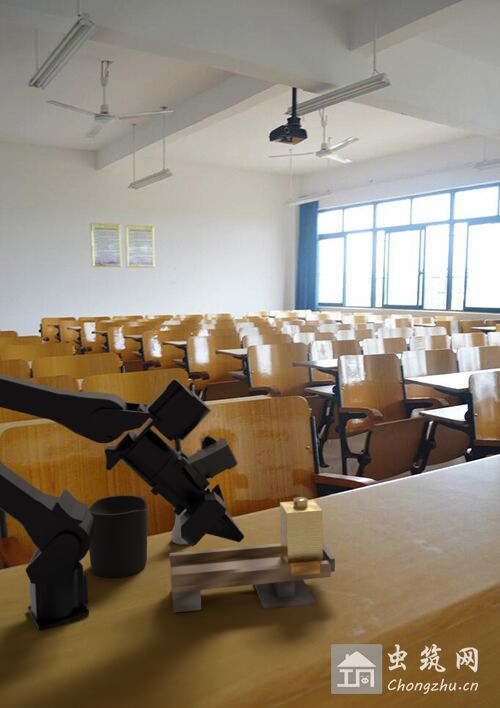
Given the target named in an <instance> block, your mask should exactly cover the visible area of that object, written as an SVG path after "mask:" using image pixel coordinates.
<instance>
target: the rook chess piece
mask: <svg viewBox="0 0 500 708" xmlns="http://www.w3.org/2000/svg"><path fill="white" fill-rule="evenodd" d="M185 511H186V509H185V510H184V511H183V512H182V513H181V514H180V515H179V516H178V515H177V514H176V513H175V523H174V526H173V528H172V530H171V533H170V535H171V537H170V540H171V542H172V543H173V544H174V543H175V545H178V546H187V545H189V544H188V543H187V542H186V541H185V540H184V539H183V538H182V537H181V531H180V517H181V516H182V515H183V514H184V512H185Z"/></svg>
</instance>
